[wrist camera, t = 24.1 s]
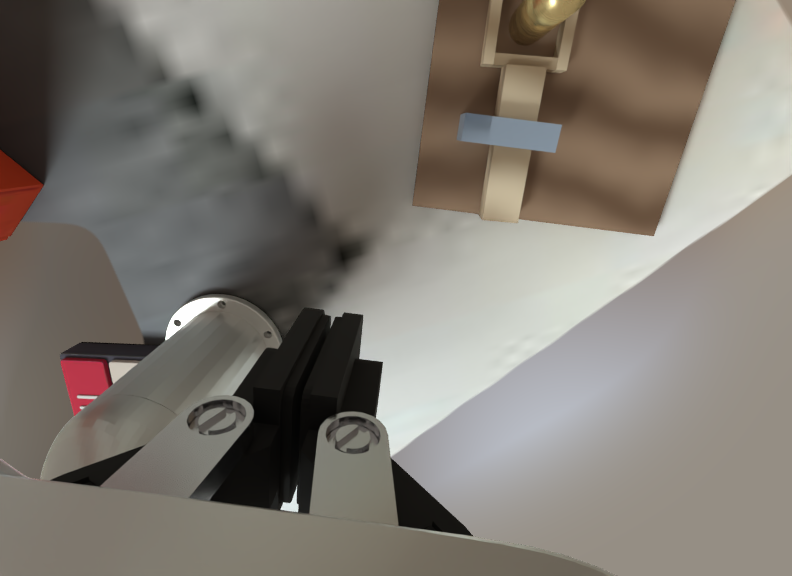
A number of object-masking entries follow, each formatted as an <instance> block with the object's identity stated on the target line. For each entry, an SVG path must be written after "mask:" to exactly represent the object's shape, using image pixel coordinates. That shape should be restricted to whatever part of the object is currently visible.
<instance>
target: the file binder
mask: <svg viewBox="0 0 792 576" xmlns="http://www.w3.org/2000/svg"><path fill="white" fill-rule="evenodd" d="M43 186H44V185H43V184H42V183H41V182H39V181H38V180H37V179H36V178H34V177H33V176H32V175H31V174H30V173H28V172H27V171H26V170H25V169H23V168H22V167H21V166H20V165H18V164H17V163H16V162H15V161H13V160H12V159H11V158H10V157H9V156H7V155H6V154H5V153H4V152H2V151H1V150H0V241H3V240H7V238H8V236H11V235H12V233H13V232H14V230H15V229H16V227H17V225H18V224H19V222H20V221H21V219H22V218H23V216H24V215H25V213H26V212H27V210H28V209H29V207H30V206H31V204H32V202H33V201H34V199H35V198H36V196H37V195H38V193H39V192H40V190H41V189H42V187H43Z"/></svg>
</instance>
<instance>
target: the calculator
mask: <svg viewBox="0 0 792 576" xmlns="http://www.w3.org/2000/svg"><path fill="white" fill-rule="evenodd" d="M157 347H158V346H154V345H144V344H124V343H100V342H99V343H98V342H81V343H79V344H77V345H75V346H73V347H71V348H70V349H68V350H66V351H64V352H63V353H61V354H60V359H61V366H62V370H63V374H64V378H65V382H66V386H67V390H68V394H69V398H70V401H71V405H72V409H73V413H74V416H75V415H76V414H77V413H79V412H80V411H81V410H82V409H83V408H84V407H86V406H87V405H88V404H90V403H91V402H92V401H93V400H95V399H96V398H97V397H98V396H99V395H101V394H102V393H103V392H104V391H105V390H107V389H108V388H109V387H110V386H111V385H113V384H114V383H115V382H116V381H117V380H119V379H120V378H121V377H122V376H123V375H125V374H126V373H127V372H128V371H130V370H131V369H132V368H133V367H134V366H136V365H137V364H138V363H139V362H140V361H142V360H143V359H144V358H145V357H146V356H148V355H149V354H150V353H151V352H152V351H154V350H155V349H156V348H157Z"/></svg>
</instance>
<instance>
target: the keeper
mask: <svg viewBox="0 0 792 576" xmlns="http://www.w3.org/2000/svg"><path fill="white" fill-rule="evenodd" d="M561 127H562V125H560V124H552V123H544V122H536V121H528V120H520V119H512V118H504V117H496V116H488V115H480V114H472V113H464V114H461V115H460V121H459V127H458V133H457V140H459V141H465V142H473V143H481V144H489V145H497V146H505V147H513V148H521V149H529V150H536V151H544V152H552V153H555V152H556V148H557V144H558V140H559V136H560V131H561Z"/></svg>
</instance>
